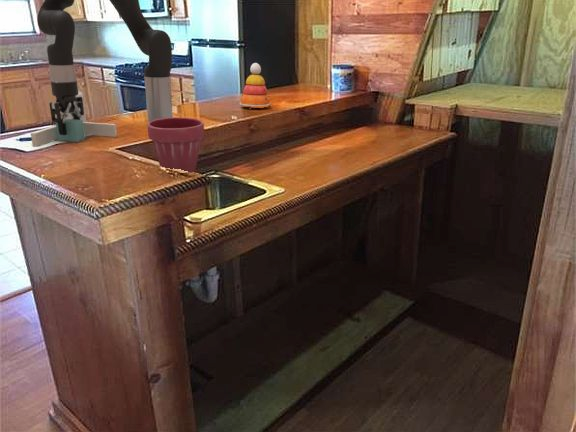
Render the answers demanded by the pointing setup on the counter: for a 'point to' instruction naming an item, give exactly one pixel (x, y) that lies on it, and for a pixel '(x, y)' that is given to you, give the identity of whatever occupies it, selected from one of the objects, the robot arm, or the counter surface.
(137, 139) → the counter surface
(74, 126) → the teal block
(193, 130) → the plant pot
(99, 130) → the beige l-shaped wall
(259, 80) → the stacking toy
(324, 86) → the counter surface
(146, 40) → the robot arm
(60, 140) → the pad
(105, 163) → the counter surface
